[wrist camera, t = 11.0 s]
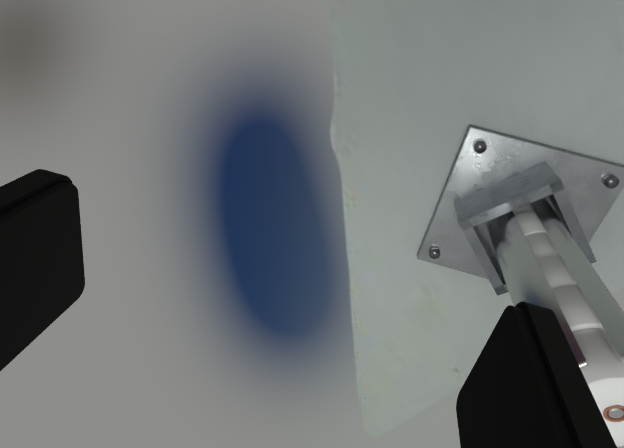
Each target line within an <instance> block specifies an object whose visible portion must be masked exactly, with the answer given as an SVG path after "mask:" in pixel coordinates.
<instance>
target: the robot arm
mask: <svg viewBox="0 0 624 448" xmlns="http://www.w3.org/2000/svg"><path fill="white" fill-rule="evenodd" d="M84 286H85V277H84V264H83V251H82V237H81V224H80V212H79V198H78V190H77V188H76V187H75V186H74V185H73V184H72V181H71V180H70V179H69V177H67V176H64V175H61V174H57V173H54V172H50V171H47V170H41V169H38V170H35V171H33V172H31V173H28V174H26V175H24V176H22V177H20V178H18V179H16V180H14V181H12V182H10V183H8V184H5V185H3V186H1V187H0V371H1V370H2V369H3V368H4V367H5V366H6V365H8V364H9V363H10V362H11V361H12V360H13V359H14V358H15V357H16V356H17V355H18V354H19V353H20V352H21V351H23V350H24V349H25V348H26V347H27V346H28V345H29V344H30V343H31V342H32V341H33V340H34V339H35V338H36V337H37V336H39V335H40V334H41V333H42V332H43V331H44V330H45V329H46V328H47V327H48V326H49V325H50V324H52V323H53V321H55V320H56V319H57V318H58V317H59V316H60V315H61V314H62V313H63V312H64V311H65V310H66V309H68V308H69V307H70V306H71V305H72V304H73V303H74V302H75V301H76V300H77V299H78V298H79V297H80V295H81V294H82V292H83V290H84ZM456 410H457V411H456V412H457V420H458V428H459V436H460V445H461V448H617V446H616V444H615V442H614V440H613V438H612V436H611V433H610V431H609V429H608V427H607V425H606V423H605V421H604V418H603V416H602V414H601V412H600V410H599V408H598V406H597V403H596V401H595V399H594V397H593V395H592V393H591V390H590V388H589V386H588V384H587V382H586V380H585V378H584V375H583V373H582V371H581V369H580V367H579V365H578V363H577V360H576V358H575V356H574V354H573V352H572V350H571V347H570V345H569V343H568V341H567V339H566V337H565V335H564V332H563V330H562V328H561V326H560V324H559V322H558V320H557V317H556V315H555V313H554V312H553V310H551V309H549V308H545V307H541V306H538V305H534V304H530V303H527V302H523V301H522V302H519V303H518V304H516V306H515V307H514V306H511V305H510V306H508V307H507V308H506V309H505V310H504V312H503V314H502V316H501V317H500V319H499V321H498V323H497V325H496V326H495V328H494V330H493V332H492V334H491V336H490V337H489V339H488V341H487V343H486V345H485V347H484V348H483V350H482V352H481V354H480V356H479V358H478V359H477V361H476V363H475V365H474V367H473V368H472V370H471V372H470V374H469V376H468V378H467V379H466V381H465V383H464V385H463V387H462V389H461V390H460V392H459V395H458V398H457V406H456Z"/></svg>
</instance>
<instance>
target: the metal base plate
mask: <svg viewBox="0 0 624 448" xmlns="http://www.w3.org/2000/svg"><path fill="white" fill-rule="evenodd" d="M623 187H624V166H623V165H619V164H615V163H612V162H608V161H604V160H600V159H596V158H593V157H589V156H585V155H581V154H577V153H574V152H570V151H566V150H562V149H558V148H555V147H551V146H547V145H543V144H539V143H536V142H532V141H528V140H524V139H520V138H517V137H513V136H509V135H505V134H502V133H498V132H494V131H490V130H486V129H483V128H479V127H475V126H471V125H469V127H468V129H467V132H466V134H465V137H464V139H463V142H462V144H461V147H460V149H459V152H458V154H457V157H456V159H455V162H454V164H453V167H452V169H451V172H450V174H449V177H448V179H447V182H446V184H445V186H444V189H443V191H442V194H441V196H440V199H439V201H438V204H437V206H436V209H435V211H434V214H433V216H432V219H431V221H430V224H429V226H428V229H427V231H426V234H425V236H424V239H423V241H422V244H421V246H420V249H419V251H418V254H417V259H420V260H424V261H427V262H431V263H434V264H438V265H441V266H445V267H448V268H452V269H455V270H459V271H462V272H466V273H469V274H473V275H476V276H480V277H483V278H487V279H489V281H490V282H491V284H492V286H493V288H494V290H495V292H496V293H497V295H501V294H503V293H506V292H509V291H508V288H507V285H506V282H505V279H504V276H503V273H502V270H501V268H500V265H499V262H498V259H497V256H496V253H495V250H494V247H493V245H492V242H491V239H490V236H489V233H488V230H487V227H486V224H485V222H486V221H489V220H491V219H493V218H496V217H498V216H501V215H503V214H506V213H508V212H510V211H513V210H515V209H518V208H520V207H522V206H525V205H527V204H530V203H532V202H534V201H537V200H539V199H542V198H544V197H545V199H546V200H547V201H548V202H549V204H550V205H551V207H552V208H553V210H554V211H555V213H556V214H557V215H558V217H559V218H560V220H561V221H562V223H563V224H564V226H565V227H566V229H567V230H568V231H569V233H570V234H571V236H572V237H573V239H574V240H575V242H576V243H577V245H578V246H579V248H580V249H581V250H582V252H583V253H584V255H585V256H586V258H587V259H588V261H589V262H590V264H591V263H594V262H596V259H595V257H594V255H593V253H592V250H591V248H590V246H589V241H590V240H591V238H592V236H593V235H594V233H595V232H596V230H597V229H598V227H599V225H600V224H601V222H602V221H603V219H604V217H605V216H606V214H607V213H608V211H609V209H610V208H611V206H612V205H613V203H614V202H615V200H616V198H617V197H618V195H619V194H620V192H621V190H622V189H623Z"/></svg>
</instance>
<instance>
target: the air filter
mask: <svg viewBox="0 0 624 448" xmlns="http://www.w3.org/2000/svg"><path fill="white" fill-rule="evenodd" d="M485 224H486V227H487V230H488V233H489V236H490V239H491V242H492V245H493V247H494V250H495V253H496V256H497V259H498V262H499V265H500V268H501V270H502V273H503V276H504V279H505V282H506V285H507V288H508V291H509V293H510V296H511V299H512V302H513V305H514V307H515V306H516V304H518V303H519V302H522V301H523V302H527V303H530V304H534V305H538V306H541V307H545V308H549V309H551V310H553V312H554V313H555V315H556V317H557V320H558V322H559V324H560V326H561V328H562V330H563V332H564V335H565V337H566V339H567V341H568V343H569V345H570V347H571V350H572V352H573V354H574V356H575V358H576V360H577V363H578V365H579V367H580V369H581V371H582V373H583V375H584V378H585V380H586V382H587V384H588V386H589V388H590V390H591V393H592V395H593V397H594V399H595V401H596V403H597V406H598V408H599V410H600V412H601V414H602V416H603V418H604V421H605V423H606V425H607V427H608V429H609V431H610V433H611V436H612V438H613V440H614V442H615V444H616V446H624V312H623V310H622V309H621V307H620V306H619V304H618V303H617V301H616V300H615V299H614V297H613V296H612V294H611V293H610V291H609V290H608V288H607V287H606V285H605V284H604V283H603V281H602V280H601V278H600V277H599V275H598V274H597V272H596V271H595V269H594V268H593V266H592V265H591V264H590V262H589V261H588V259H587V258H586V256H585V255H584V253H583V252H582V250H581V249H580V248H579V246H578V245H577V243H576V242H575V240H574V239H573V237H572V236H571V234H570V233H569V231H568V230H567V229H566V227H565V226H564V224H563V223H562V221H561V220H560V218H559V217H558V215H557V214H556V213H555V211H554V210H553V208H552V207H551V205H550V204H549V202H548V201H547V200H546V199H545V197H544V198H542V199H539V200H537V201H534V202H532V203H530V204H527V205H525V206H522V207H520V208H518V209H515V210H513V211H510V212H508V213H506V214H503V215H501V216H498V217H496V218H493V219H491V220H489V221H486V222H485Z"/></svg>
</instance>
